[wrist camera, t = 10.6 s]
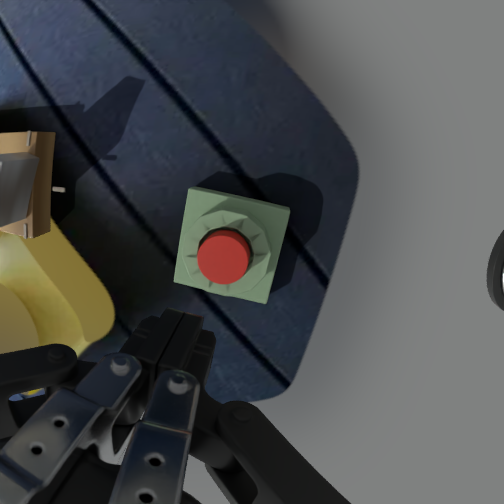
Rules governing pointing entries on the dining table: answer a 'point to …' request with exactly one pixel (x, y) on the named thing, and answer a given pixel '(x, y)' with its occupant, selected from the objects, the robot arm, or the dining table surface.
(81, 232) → the dining table surface
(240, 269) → the button
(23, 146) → the panel
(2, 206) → the tap lever
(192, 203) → the button box
